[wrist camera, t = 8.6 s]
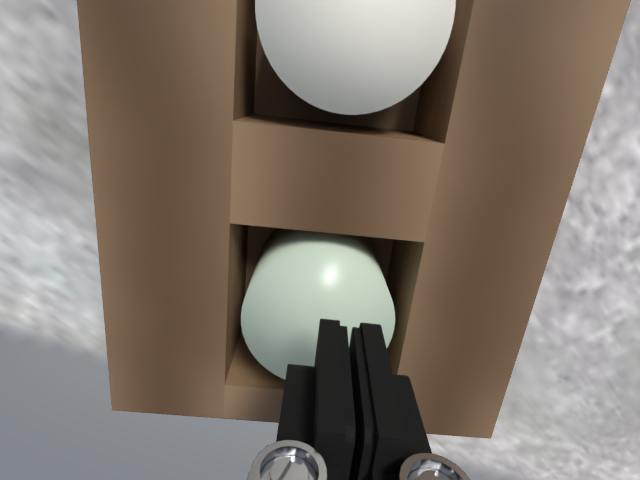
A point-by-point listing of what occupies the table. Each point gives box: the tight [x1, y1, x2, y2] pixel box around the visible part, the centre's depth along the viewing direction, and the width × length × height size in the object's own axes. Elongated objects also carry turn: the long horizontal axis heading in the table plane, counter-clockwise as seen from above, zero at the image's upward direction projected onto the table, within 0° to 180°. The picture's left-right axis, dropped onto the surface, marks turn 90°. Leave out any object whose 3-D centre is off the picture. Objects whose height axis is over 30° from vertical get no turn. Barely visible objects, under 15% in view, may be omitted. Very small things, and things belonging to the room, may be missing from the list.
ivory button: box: [255, 0, 456, 115], centre depth 12 cm, size 5×5×4 cm
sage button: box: [241, 228, 395, 379], centre depth 15 cm, size 5×5×4 cm
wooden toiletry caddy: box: [77, 0, 631, 438], centre depth 16 cm, size 14×18×8 cm
